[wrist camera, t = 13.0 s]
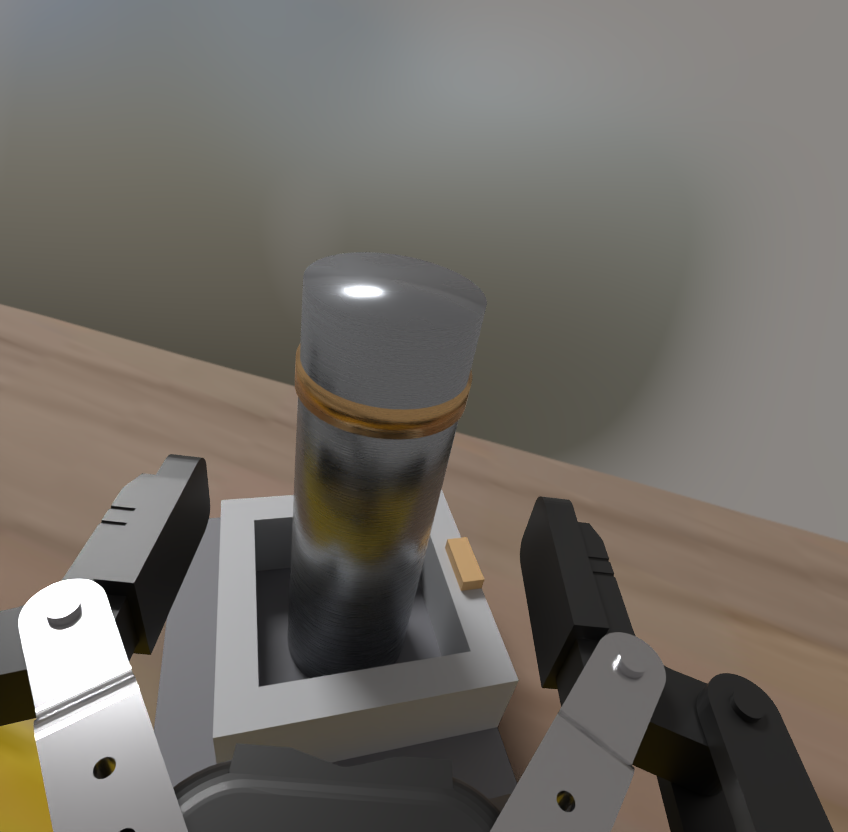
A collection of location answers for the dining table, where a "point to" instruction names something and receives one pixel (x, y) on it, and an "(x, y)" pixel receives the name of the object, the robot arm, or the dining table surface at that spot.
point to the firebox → (339, 693)
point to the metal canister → (372, 447)
